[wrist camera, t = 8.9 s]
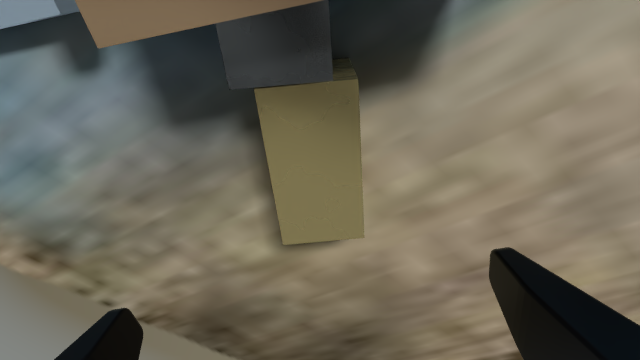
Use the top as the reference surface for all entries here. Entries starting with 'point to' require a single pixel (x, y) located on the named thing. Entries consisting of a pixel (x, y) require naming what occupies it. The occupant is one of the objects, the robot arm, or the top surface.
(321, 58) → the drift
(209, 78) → the top surface
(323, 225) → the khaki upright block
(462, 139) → the top surface
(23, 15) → the cradle
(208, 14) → the beam
